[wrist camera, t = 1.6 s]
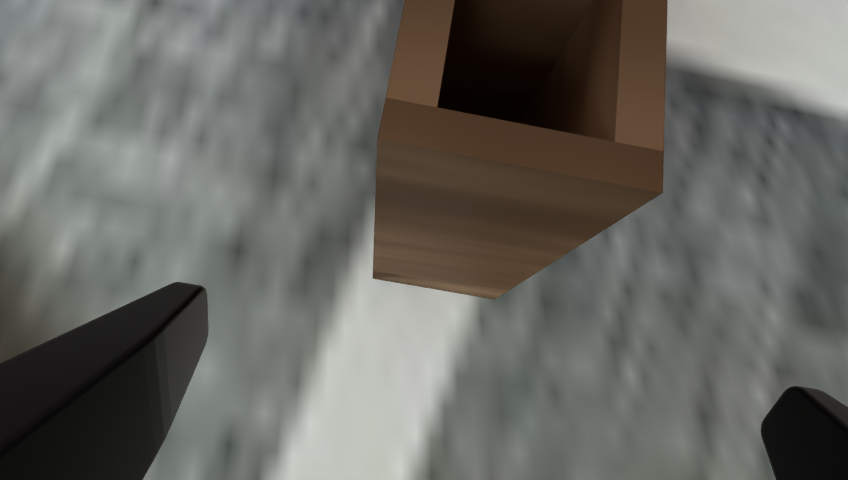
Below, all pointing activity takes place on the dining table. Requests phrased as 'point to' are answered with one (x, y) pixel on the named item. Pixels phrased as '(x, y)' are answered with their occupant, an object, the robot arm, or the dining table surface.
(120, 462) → the robot arm
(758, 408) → the dining table surface
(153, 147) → the dining table surface
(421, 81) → the walnut crate
